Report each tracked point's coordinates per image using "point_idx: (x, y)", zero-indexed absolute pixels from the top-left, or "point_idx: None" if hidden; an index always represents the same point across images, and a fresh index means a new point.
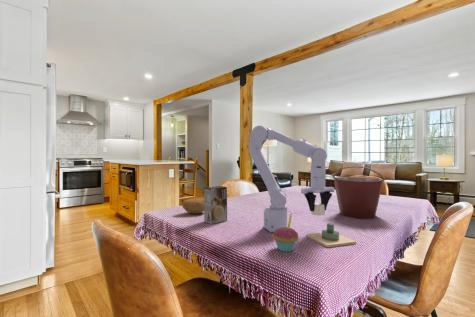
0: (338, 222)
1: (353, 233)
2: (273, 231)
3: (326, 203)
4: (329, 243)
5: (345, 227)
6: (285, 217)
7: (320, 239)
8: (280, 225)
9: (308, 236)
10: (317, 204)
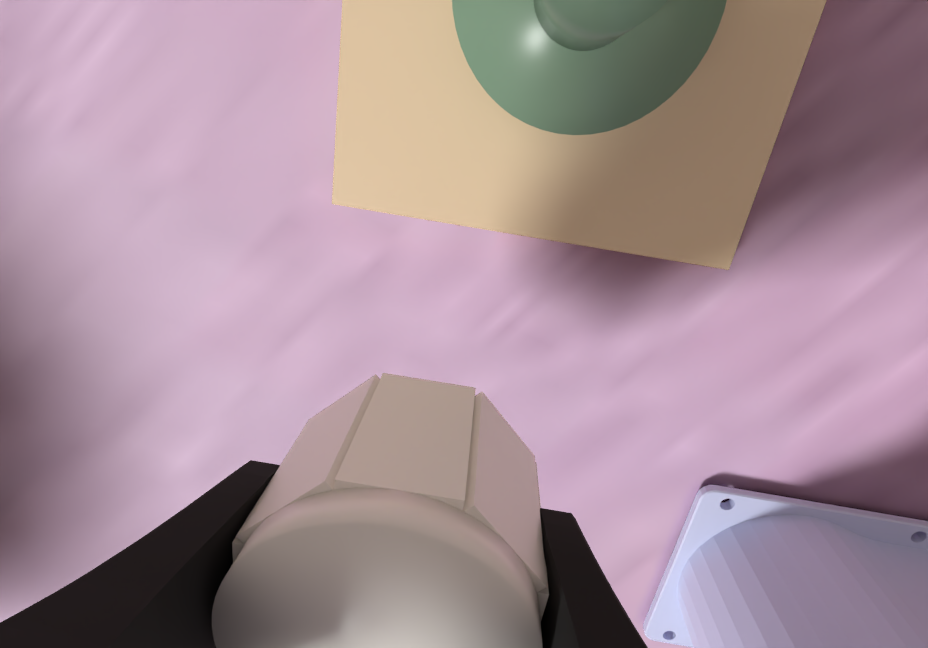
0: (20, 452)
1: (93, 75)
2: None
3: (156, 566)
4: None
5: (48, 295)
6: (841, 639)
7: (764, 9)
8: (862, 560)
9: (735, 228)
10: (412, 637)
